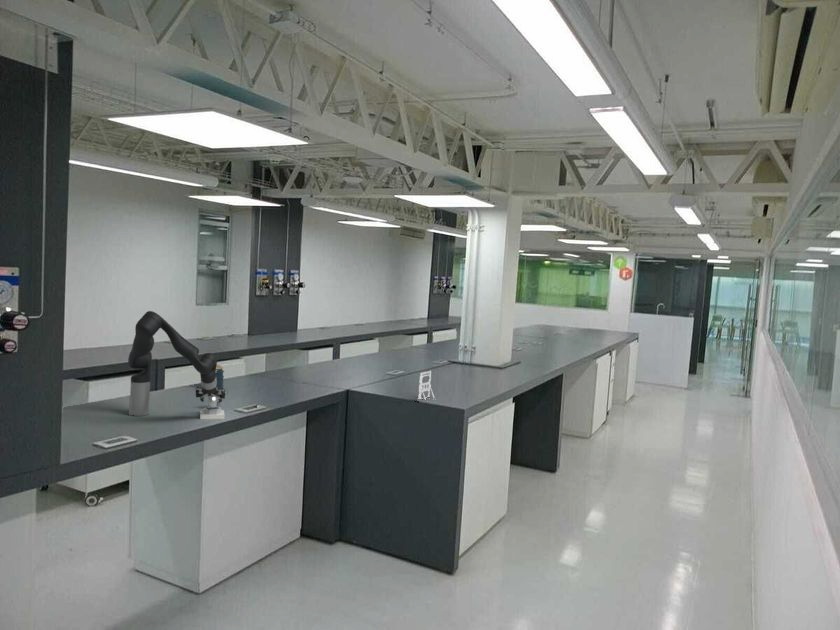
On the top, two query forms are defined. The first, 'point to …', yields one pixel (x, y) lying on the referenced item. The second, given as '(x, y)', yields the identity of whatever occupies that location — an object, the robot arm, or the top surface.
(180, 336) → the robot arm
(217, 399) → the mechanical component
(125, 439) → the top surface
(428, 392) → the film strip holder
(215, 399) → the clear glass jar
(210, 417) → the flange plate
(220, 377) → the canister
